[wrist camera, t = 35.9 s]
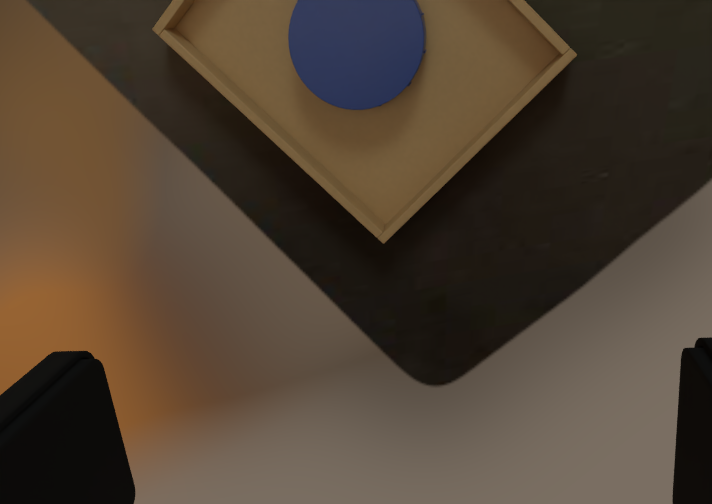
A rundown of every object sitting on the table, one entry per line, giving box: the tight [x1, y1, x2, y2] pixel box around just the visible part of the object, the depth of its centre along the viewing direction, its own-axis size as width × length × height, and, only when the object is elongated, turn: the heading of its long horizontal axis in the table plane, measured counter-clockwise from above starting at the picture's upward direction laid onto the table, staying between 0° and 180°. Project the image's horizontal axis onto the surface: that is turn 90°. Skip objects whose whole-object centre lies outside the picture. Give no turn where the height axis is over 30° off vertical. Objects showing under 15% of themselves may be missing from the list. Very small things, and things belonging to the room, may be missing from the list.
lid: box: [288, 0, 427, 110], centre depth 35 cm, size 7×7×2 cm
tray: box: [152, 0, 577, 244], centre depth 35 cm, size 17×14×2 cm
